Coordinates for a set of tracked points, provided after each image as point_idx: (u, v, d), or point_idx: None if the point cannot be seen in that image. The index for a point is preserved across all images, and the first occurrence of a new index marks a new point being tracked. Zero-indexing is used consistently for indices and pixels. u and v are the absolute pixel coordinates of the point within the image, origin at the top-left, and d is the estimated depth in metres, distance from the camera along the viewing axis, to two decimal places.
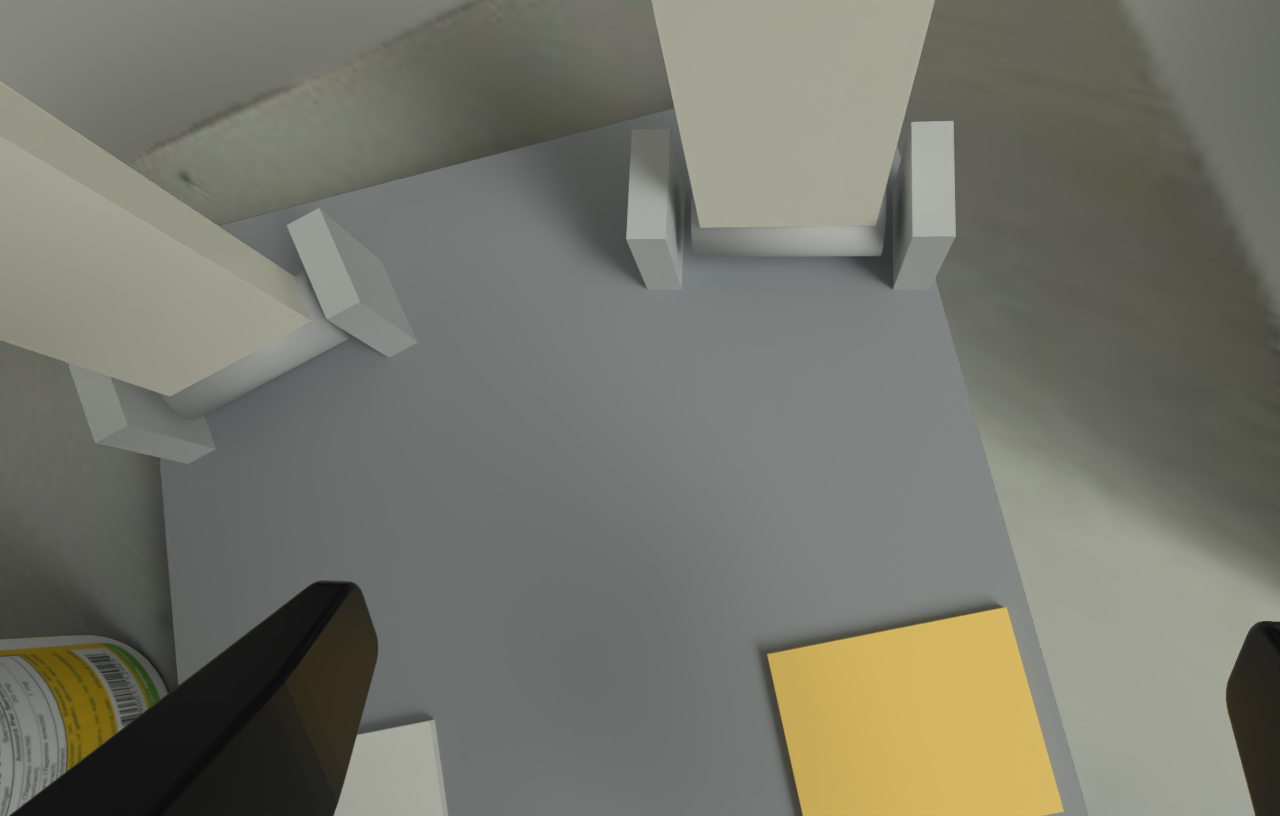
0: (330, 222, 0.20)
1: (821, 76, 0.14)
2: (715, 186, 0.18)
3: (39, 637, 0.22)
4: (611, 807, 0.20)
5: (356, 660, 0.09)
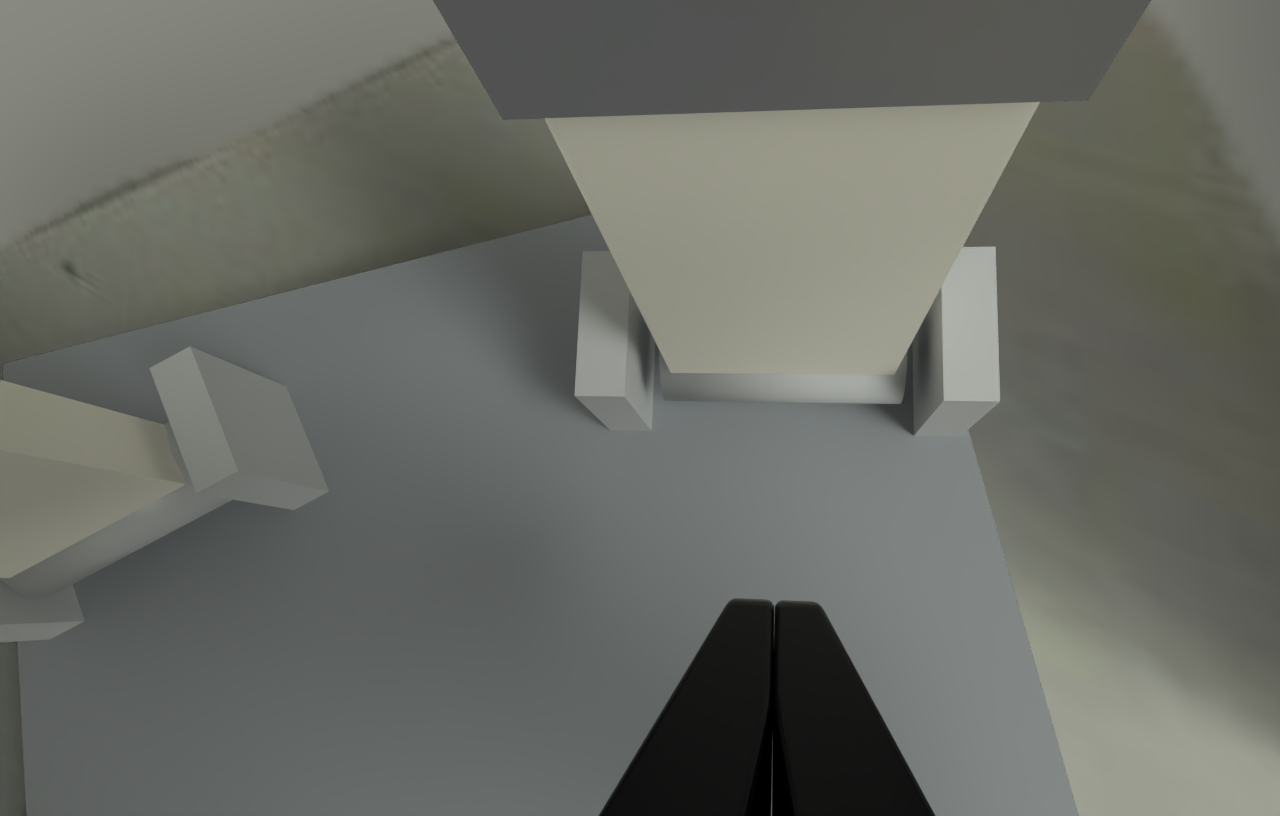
0: (206, 362, 0.16)
1: (826, 247, 0.10)
2: (686, 341, 0.14)
3: None
4: None
5: None
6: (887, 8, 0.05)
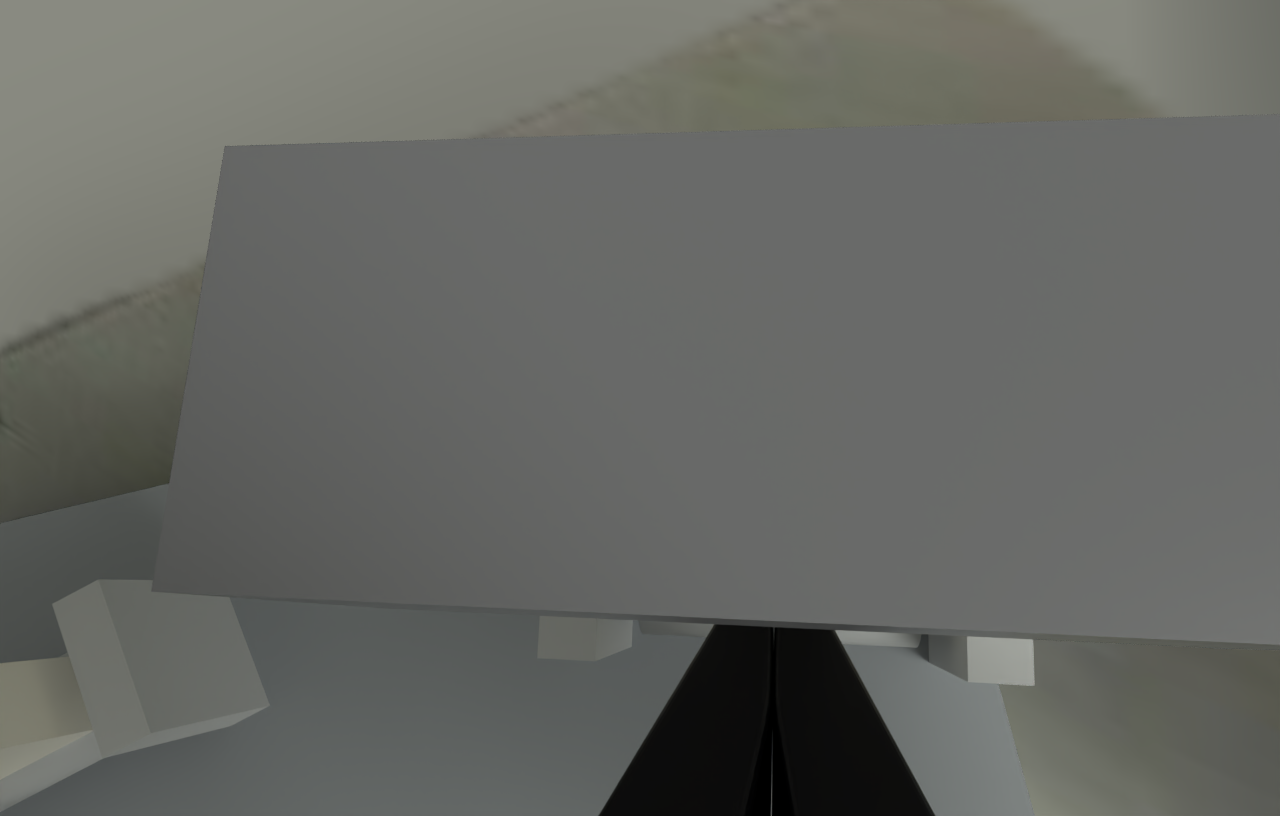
0: (119, 592, 0.14)
1: None
2: None
3: None
4: None
5: None
6: (939, 633, 0.03)
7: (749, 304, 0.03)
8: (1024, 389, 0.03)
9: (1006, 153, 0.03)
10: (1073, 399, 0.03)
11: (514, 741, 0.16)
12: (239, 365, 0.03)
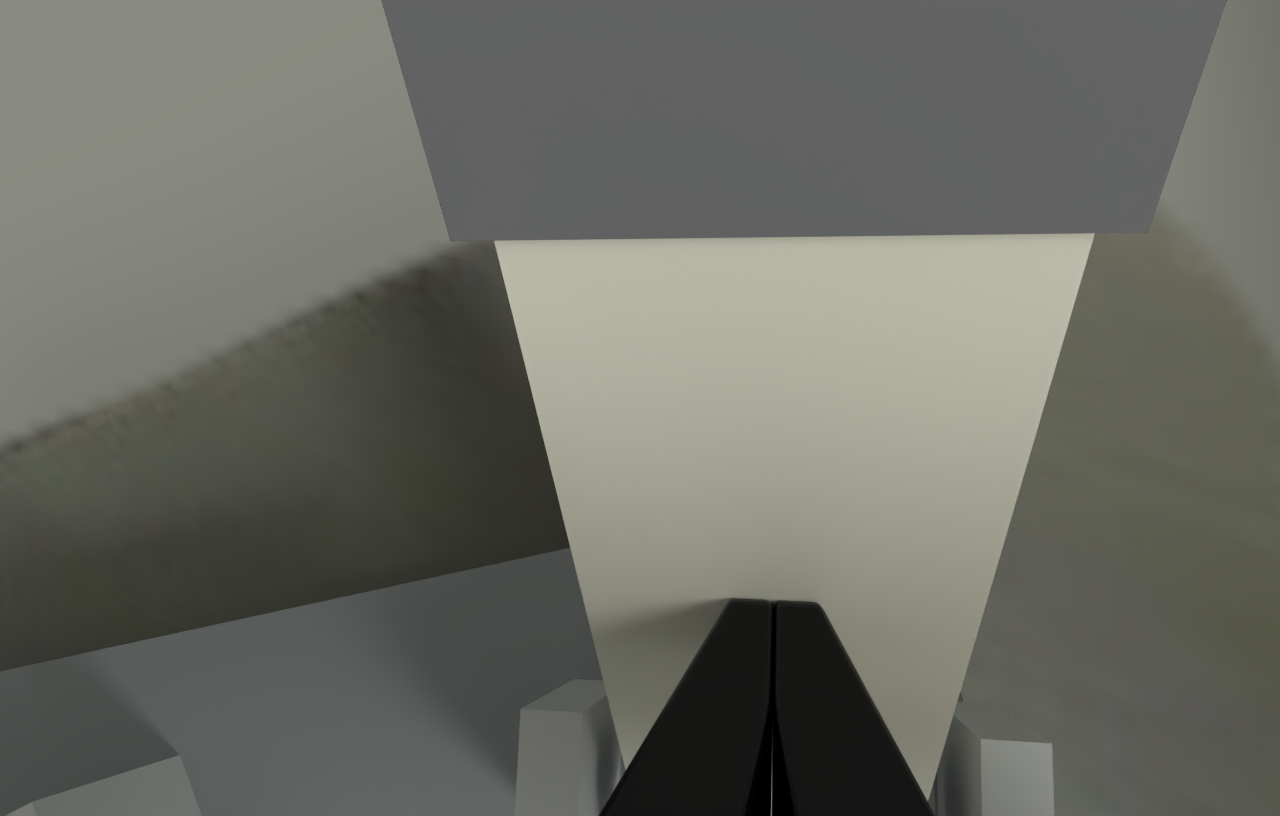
0: (56, 810, 0.13)
1: (832, 544, 0.08)
2: None
3: None
4: None
5: None
6: (903, 42, 0.05)
7: None
8: None
9: None
10: None
11: None
12: None
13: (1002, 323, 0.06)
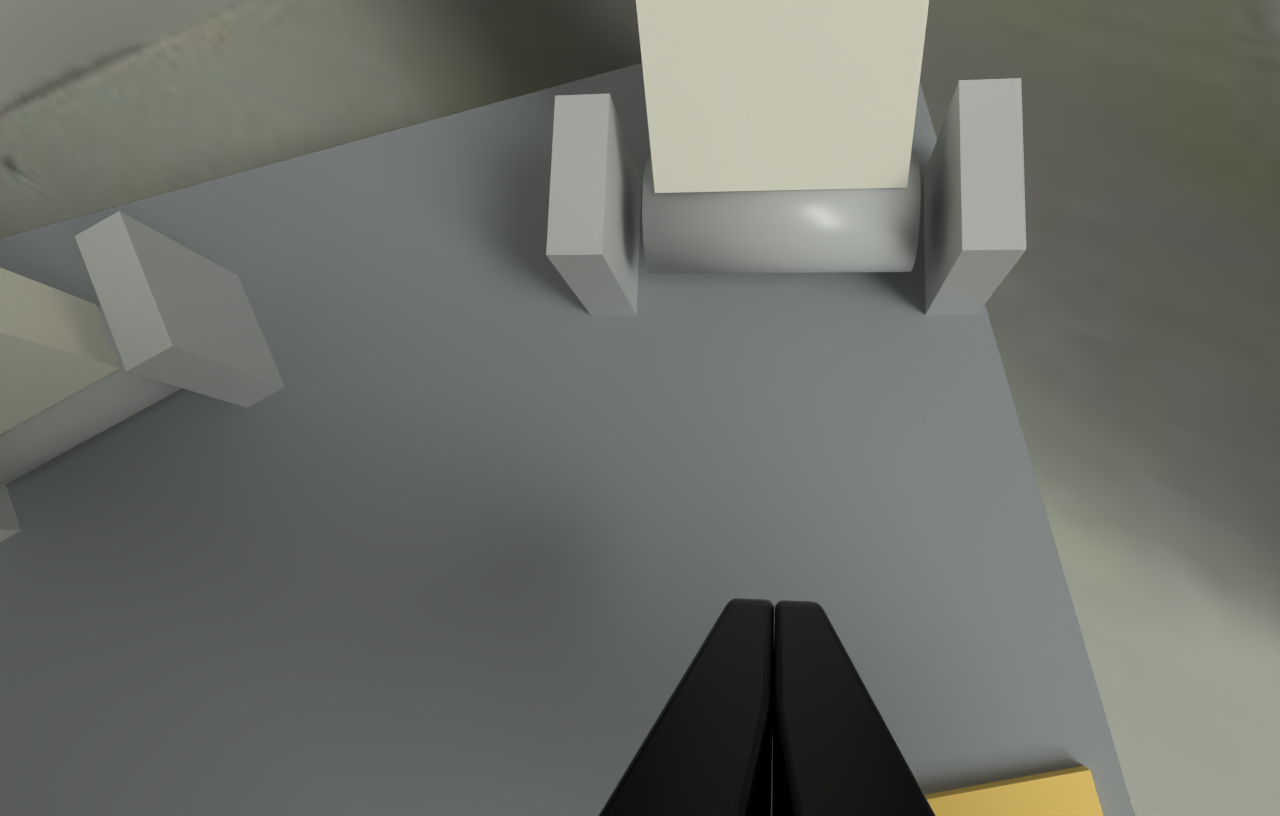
0: (139, 231, 0.15)
1: None
2: (675, 58, 0.12)
3: None
4: None
5: None
6: None
7: None
8: None
9: None
10: None
11: (523, 407, 0.16)
12: None
13: None
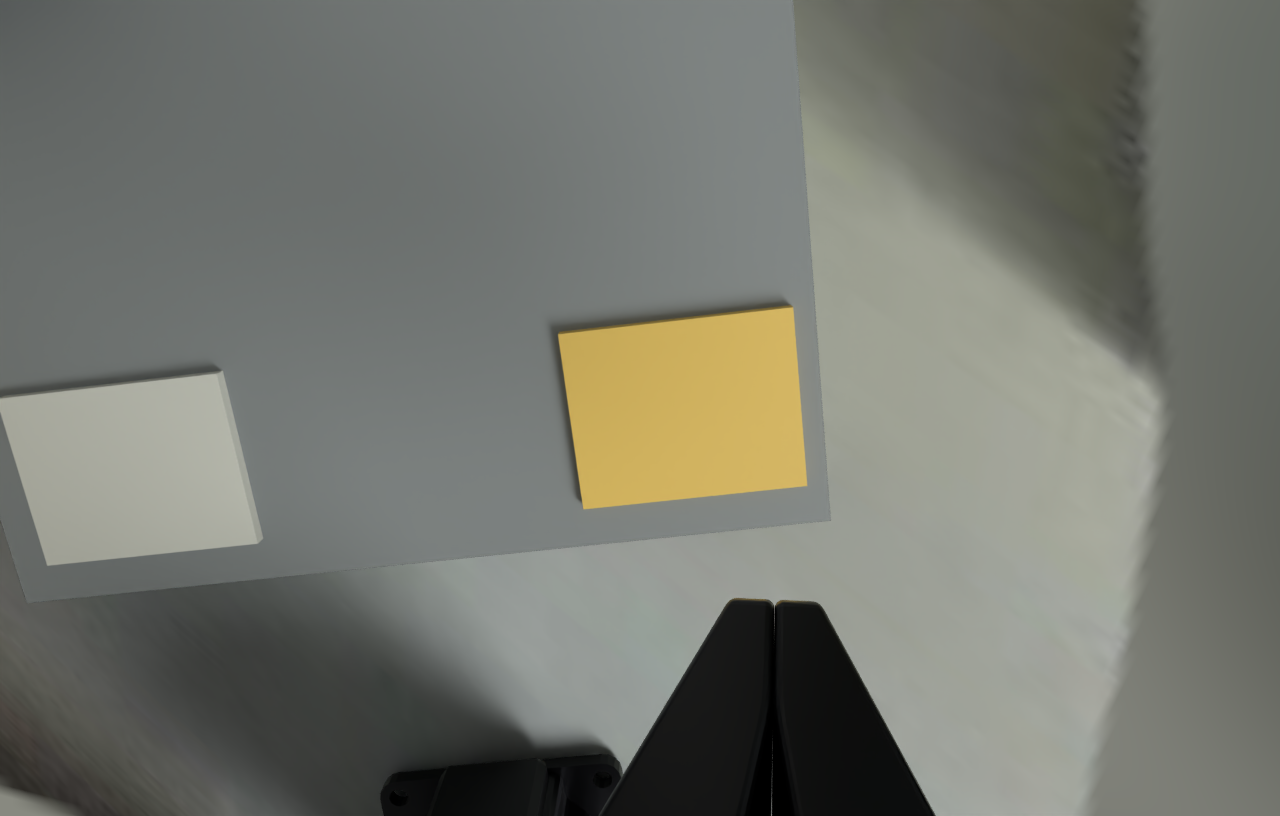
0: None
1: None
2: None
3: None
4: (402, 459, 0.21)
5: None
6: None
7: None
8: None
9: None
10: None
11: None
12: None
13: None
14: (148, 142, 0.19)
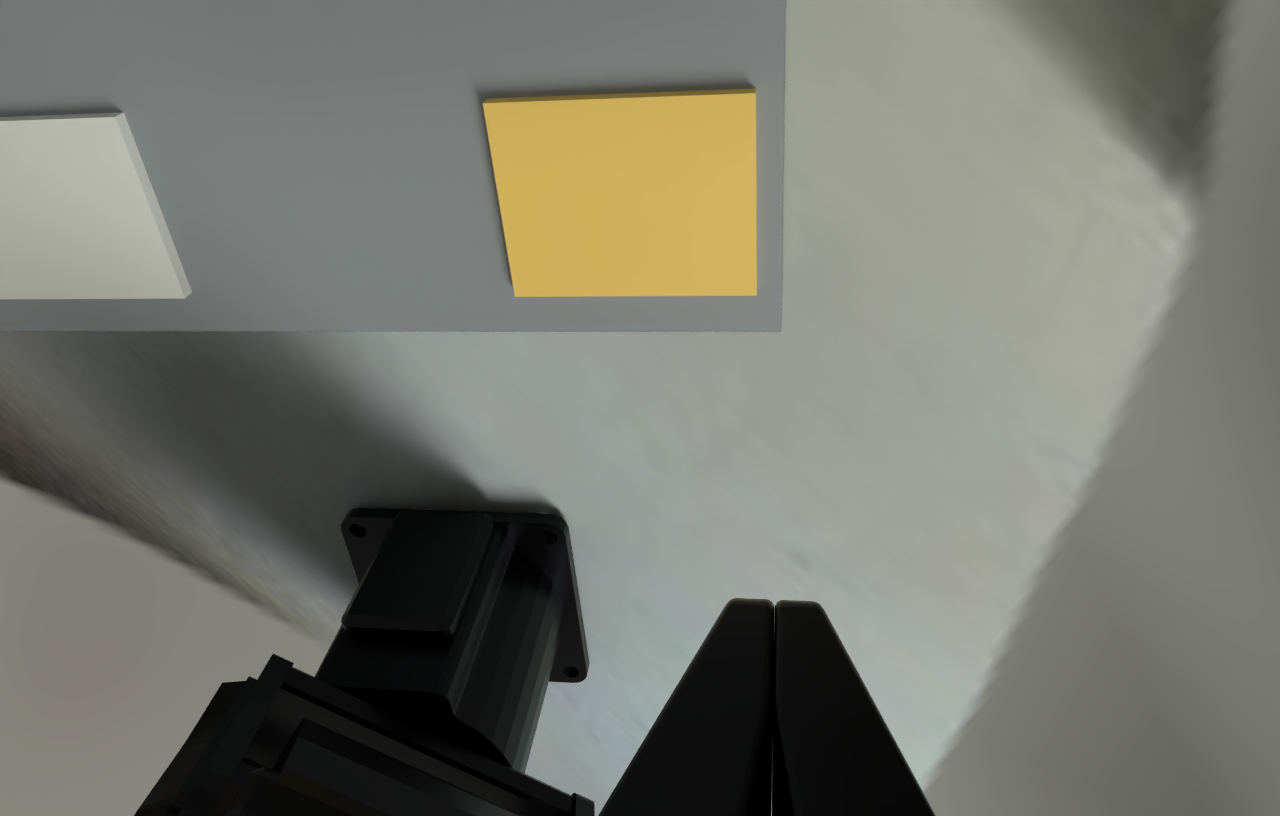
0: None
1: None
2: None
3: None
4: (324, 225, 0.20)
5: None
6: None
7: None
8: None
9: None
10: None
11: None
12: None
13: None
14: None
